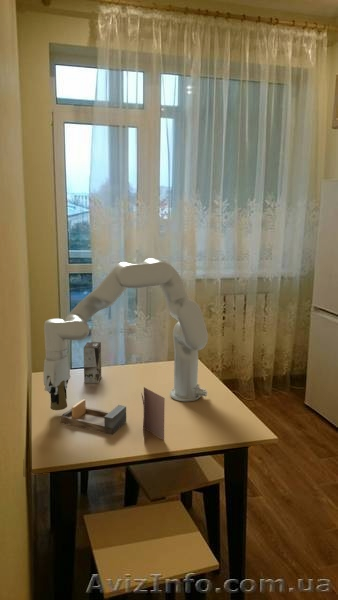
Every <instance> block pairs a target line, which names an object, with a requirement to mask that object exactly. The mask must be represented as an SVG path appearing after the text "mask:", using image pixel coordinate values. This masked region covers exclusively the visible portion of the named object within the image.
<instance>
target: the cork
mask: <svg viewBox="0 0 338 600" xmlns="http://www.w3.org/2000/svg"><path fill="white" fill-rule="evenodd" d="M51 385H53V384H51ZM64 385H65V381H64V380H63V381H62V382H61V383H60V385H58V386H57V387H58V392H57V394H59V404H58V405H57V403H56V402H55V403H51V402H50V409H51V410H52V411H61V410H65V409H66V408H67V407H68V402H67V399H66V396H65V391H64ZM52 388H53V389H55V388H54V387H52Z"/></svg>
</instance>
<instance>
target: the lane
mask: <svg viewBox="0 0 338 600" xmlns="http://www.w3.org/2000/svg"><path fill="white" fill-rule="evenodd" d="M59 422H60V424H63V425H67V426H71V427H72V426H73V427H76V428H80V429H84V430H85V429H86V430H90V431H93V432H98V433H104V434H107V435H111V436H112V435H114V434H115V433H116V432H117V431H119V429H121V427H123V426H124V425H125V424H126V423H127V405H122V404H121V405H120V404H118V405H117V406H115V407H114V408H113V409H112V410H111V411H107V410H102V409H96V408H91V407H87V406H86V413H84V414H83V415H82V416H80V417H79V418H78V419H76V418H72V408H70V409H69V410H67V411H66V412H63V414H61V415H60V417H59Z"/></svg>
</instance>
